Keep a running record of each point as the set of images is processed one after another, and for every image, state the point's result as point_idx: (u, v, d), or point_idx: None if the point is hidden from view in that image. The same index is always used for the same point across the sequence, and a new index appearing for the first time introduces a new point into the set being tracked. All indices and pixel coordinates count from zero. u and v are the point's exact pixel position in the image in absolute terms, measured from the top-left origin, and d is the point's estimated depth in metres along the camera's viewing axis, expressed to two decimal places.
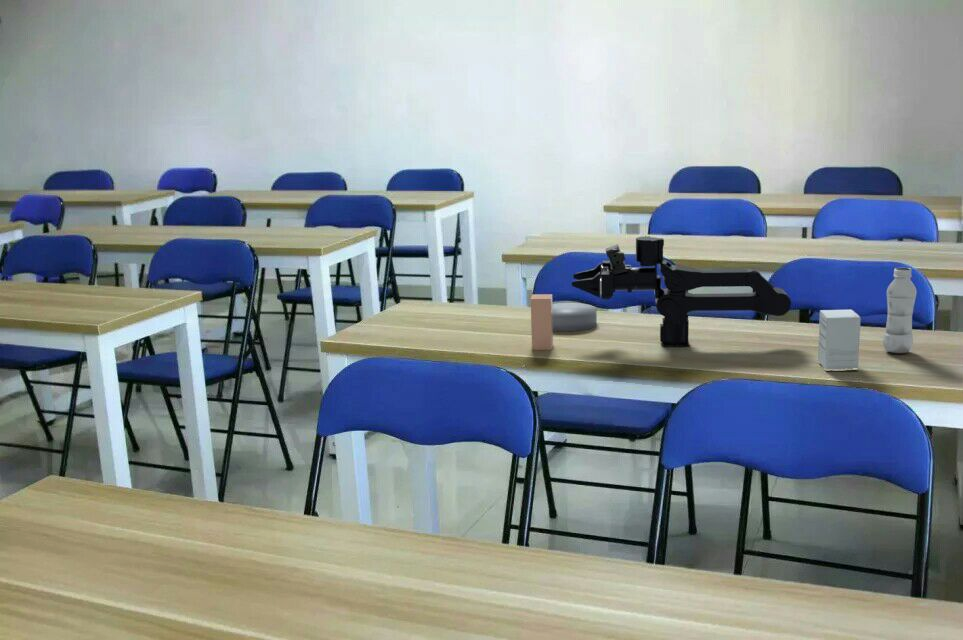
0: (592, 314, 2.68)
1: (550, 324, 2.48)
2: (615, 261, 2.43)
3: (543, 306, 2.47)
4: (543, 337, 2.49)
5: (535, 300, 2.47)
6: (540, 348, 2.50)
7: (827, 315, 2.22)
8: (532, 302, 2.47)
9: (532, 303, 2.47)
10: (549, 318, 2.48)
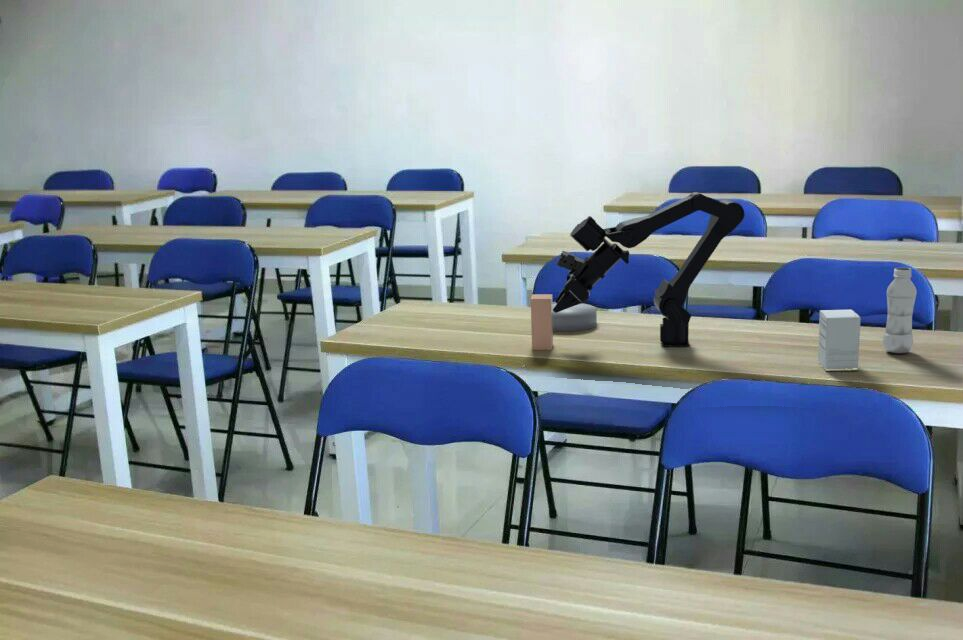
0: (592, 314, 2.68)
1: (550, 324, 2.48)
2: (569, 265, 2.42)
3: (543, 306, 2.47)
4: (543, 337, 2.49)
5: (535, 300, 2.47)
6: (540, 348, 2.50)
7: (827, 315, 2.22)
8: (532, 302, 2.47)
9: (532, 303, 2.47)
10: (549, 318, 2.48)
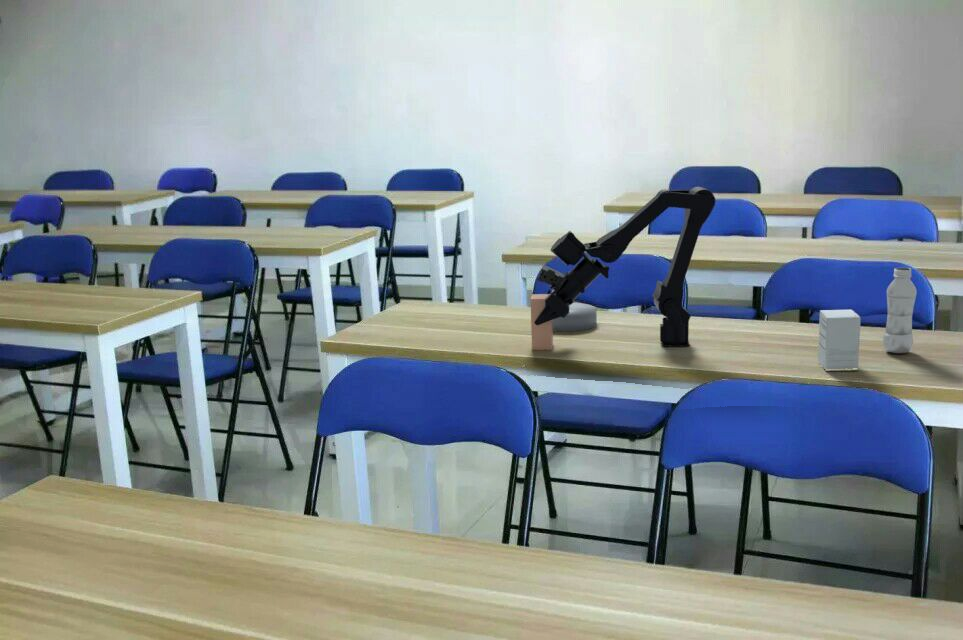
0: (592, 314, 2.68)
1: (550, 324, 2.48)
2: (549, 280, 2.43)
3: (543, 306, 2.47)
4: (543, 337, 2.49)
5: (535, 300, 2.47)
6: (540, 348, 2.50)
7: (827, 315, 2.22)
8: (532, 302, 2.47)
9: (532, 303, 2.47)
10: None
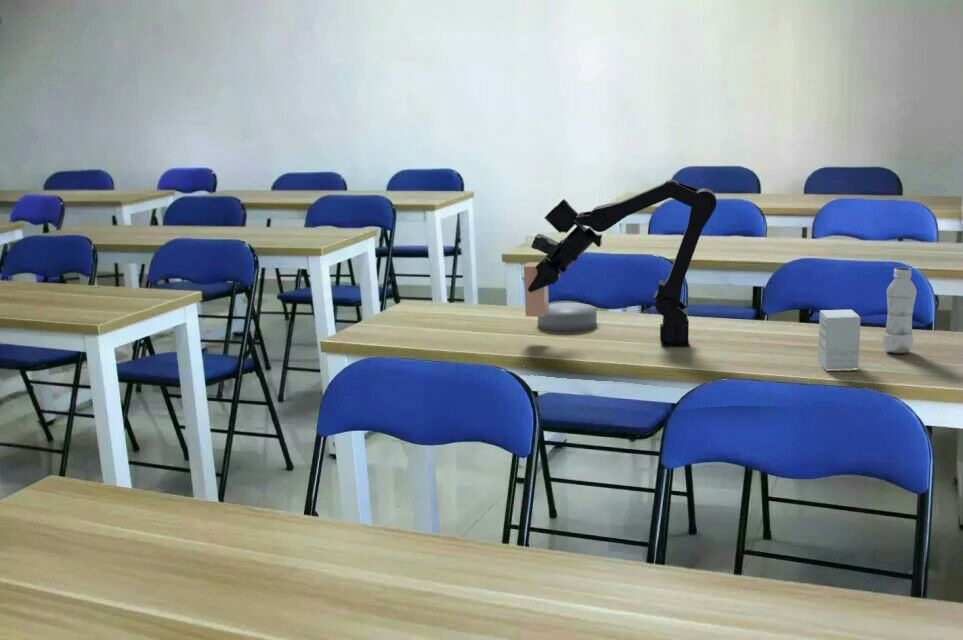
0: (592, 314, 2.68)
1: (543, 292, 2.52)
2: (541, 247, 2.48)
3: (536, 273, 2.51)
4: (536, 304, 2.53)
5: (528, 268, 2.51)
6: (533, 315, 2.54)
7: (827, 315, 2.22)
8: (525, 270, 2.52)
9: (525, 271, 2.52)
10: None
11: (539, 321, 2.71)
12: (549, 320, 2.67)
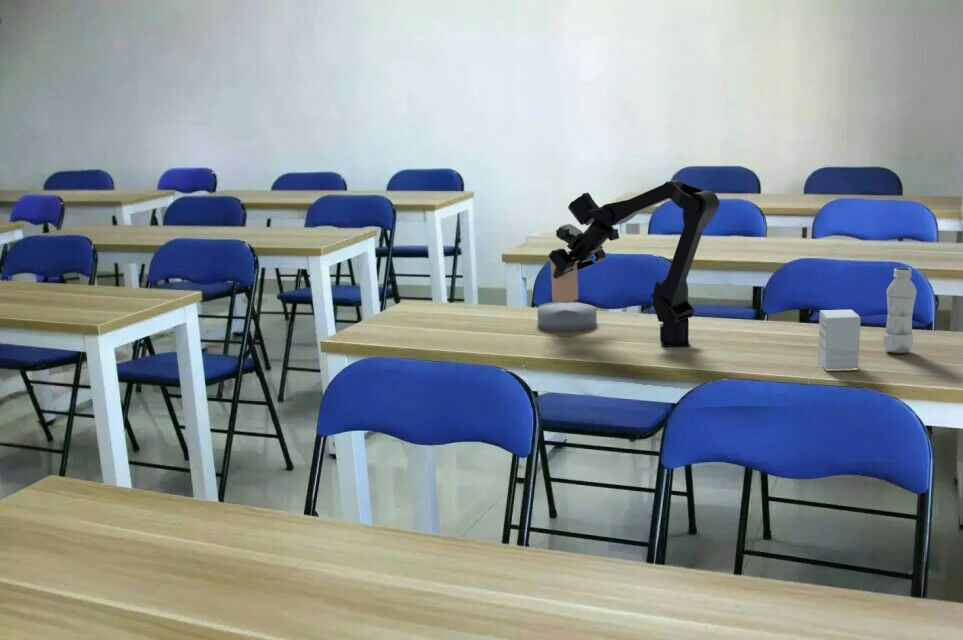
0: (592, 314, 2.68)
1: (565, 279, 2.67)
2: (561, 237, 2.62)
3: None
4: (560, 290, 2.69)
5: None
6: (558, 300, 2.70)
7: (827, 315, 2.22)
8: None
9: None
10: None
11: (539, 321, 2.71)
12: (549, 320, 2.67)
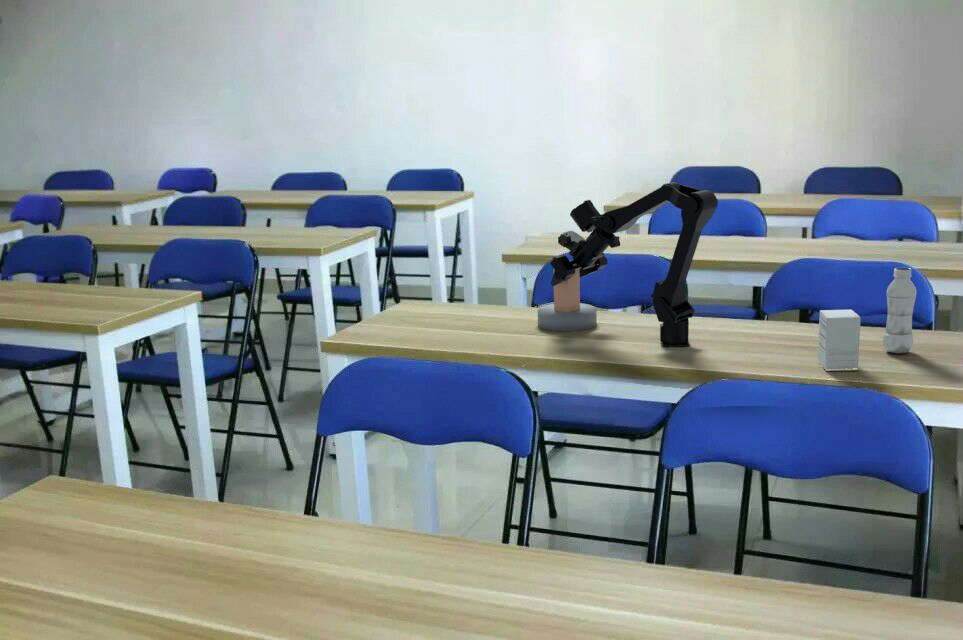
0: (592, 314, 2.68)
1: (567, 289, 2.68)
2: (562, 244, 2.63)
3: None
4: (562, 300, 2.70)
5: None
6: (560, 310, 2.71)
7: (827, 315, 2.22)
8: None
9: None
10: (566, 283, 2.68)
11: (539, 321, 2.71)
12: (549, 320, 2.67)
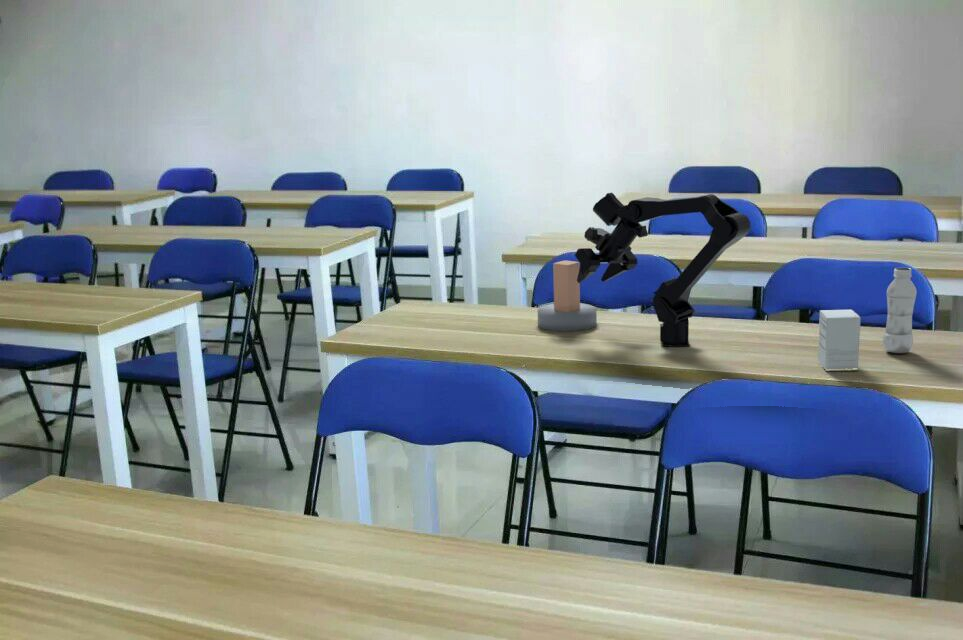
0: (592, 314, 2.68)
1: (567, 289, 2.68)
2: (589, 238, 2.58)
3: (562, 271, 2.68)
4: (562, 300, 2.70)
5: (556, 265, 2.69)
6: (560, 310, 2.71)
7: (827, 315, 2.22)
8: (554, 266, 2.69)
9: (554, 267, 2.70)
10: (566, 283, 2.68)
11: (539, 321, 2.71)
12: (549, 320, 2.67)
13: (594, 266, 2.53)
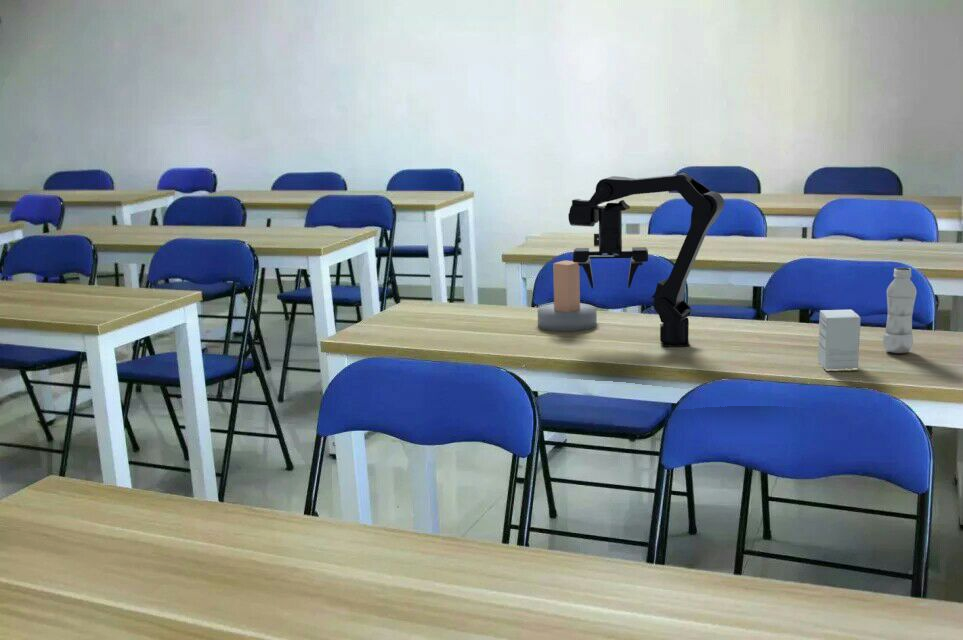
0: (592, 314, 2.68)
1: (567, 289, 2.68)
2: None
3: (562, 271, 2.68)
4: (562, 300, 2.70)
5: (556, 265, 2.69)
6: (560, 310, 2.71)
7: (827, 315, 2.22)
8: (554, 266, 2.69)
9: (554, 267, 2.70)
10: (566, 283, 2.68)
11: (539, 321, 2.71)
12: (549, 320, 2.67)
13: (581, 256, 2.51)
